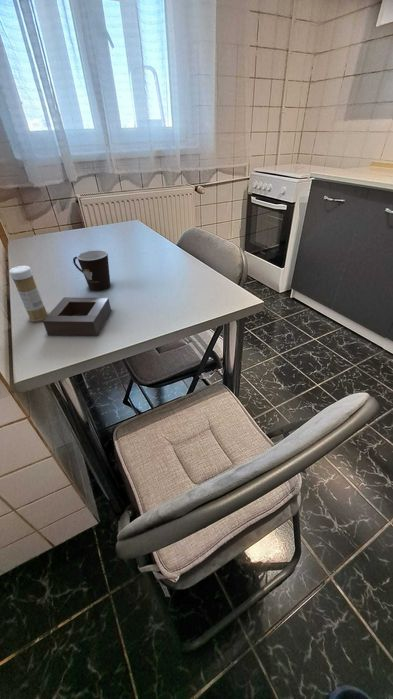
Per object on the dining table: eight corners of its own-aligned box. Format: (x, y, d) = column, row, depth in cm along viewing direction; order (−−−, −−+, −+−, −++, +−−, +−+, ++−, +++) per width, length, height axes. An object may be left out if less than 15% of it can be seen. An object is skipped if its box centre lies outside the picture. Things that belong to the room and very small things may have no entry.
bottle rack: (97, 336, 70) (93, 321, 67) (48, 335, 70) (42, 321, 68) (111, 310, 79) (108, 297, 77) (68, 310, 80) (63, 297, 77)
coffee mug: (119, 287, 91) (112, 255, 85) (93, 295, 87) (84, 262, 81) (101, 276, 98) (95, 245, 92) (77, 283, 94) (68, 252, 88)
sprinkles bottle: (45, 311, 79) (27, 263, 71) (50, 318, 77) (32, 268, 68) (27, 317, 77) (6, 268, 69) (32, 324, 74) (11, 274, 66)
